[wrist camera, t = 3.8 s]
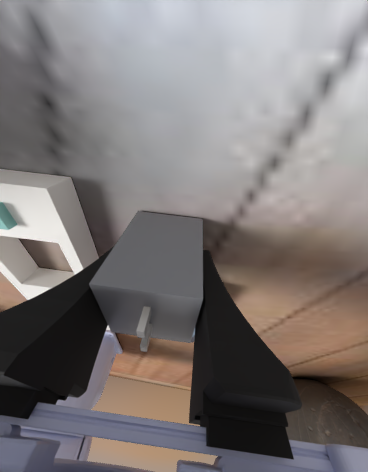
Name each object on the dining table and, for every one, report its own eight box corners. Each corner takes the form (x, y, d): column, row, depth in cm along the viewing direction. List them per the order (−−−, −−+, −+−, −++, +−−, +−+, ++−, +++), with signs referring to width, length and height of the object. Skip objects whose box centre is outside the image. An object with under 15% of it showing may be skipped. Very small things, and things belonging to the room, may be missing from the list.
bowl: (378, 382, 28) (478, 533, 18) (299, 395, 38) (334, 494, 28) (293, 360, 25) (352, 521, 15) (234, 381, 36) (246, 483, 26)
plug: (194, 263, 14) (189, 365, 8) (142, 257, 14) (102, 353, 8) (202, 218, 11) (203, 326, 5) (138, 211, 11) (72, 308, 5)
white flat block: (118, 314, 21) (107, 339, 19) (60, 306, 21) (42, 330, 19) (70, 177, 10) (30, 196, 8) (-50, 162, 10) (-126, 177, 8)
